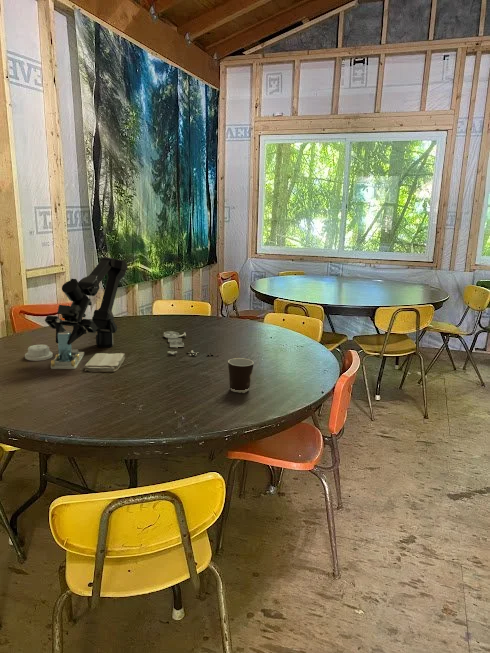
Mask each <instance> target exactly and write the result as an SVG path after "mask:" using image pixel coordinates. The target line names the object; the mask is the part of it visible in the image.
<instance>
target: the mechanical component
mask: <svg viewBox="0 0 490 653" xmlns="http://www.w3.org/2000/svg"><path fill="white" fill-rule="evenodd" d="M53 356H54V354H53V352H52V351H51V350H50V345H49V346H48V345H47V344H35V345H30V346H28V348H27V352H26V353H24V359H25V360H27V361H34V362H35V361H36V362H37V361H45V360H49V359H51V358H53Z"/></svg>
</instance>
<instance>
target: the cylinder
mask: <svg viewBox="0 0 490 653" xmlns="http://www.w3.org/2000/svg"><path fill="white" fill-rule="evenodd" d="M71 333H72V332H71V331H69V330H66V331H60V332H58V343H57V350H58V351H57V352H58V354H59V361H71V360H72V349H73V348H72V347H73V346H72V343H71V344H70V345H68V340H69V338H70V336H71Z"/></svg>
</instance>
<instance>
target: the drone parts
mask: <svg viewBox="0 0 490 653" xmlns="http://www.w3.org/2000/svg"><path fill="white" fill-rule="evenodd" d="M183 336H184V337H186V336H187V334H186V332H183V334H180V333H179V332H177V331H171V330H169V331H164V332H163V337H164V338H166V339H167V342H168V343H169V348H175V349H178V347H184V348H185V344H184V342H182V341H183V338H181V337H183ZM190 352H191V353H196V355H195V356H197V355H198V354H197V353H198V352H194V350H190ZM167 353H169V354H170V355H175V354H177V353H178V351H176V350H175V351H174V350H171V351H170V350H169V351H167ZM189 356H191V354H189Z"/></svg>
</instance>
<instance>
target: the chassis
mask: <svg viewBox="0 0 490 653" xmlns="http://www.w3.org/2000/svg"><path fill="white" fill-rule="evenodd" d="M84 356H85V351H79V349H77V348H76V349H74V348H72V360H71V361H59V353H58V354H55V358H54V359H51V360H50V369H52V370H75V369H76V368H78V365H79V364H80V363H81V360H82V359H83V357H84Z"/></svg>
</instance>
